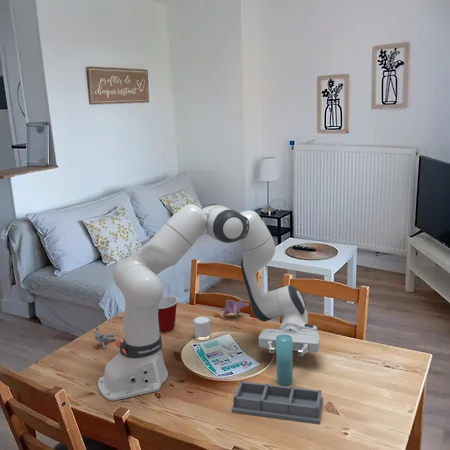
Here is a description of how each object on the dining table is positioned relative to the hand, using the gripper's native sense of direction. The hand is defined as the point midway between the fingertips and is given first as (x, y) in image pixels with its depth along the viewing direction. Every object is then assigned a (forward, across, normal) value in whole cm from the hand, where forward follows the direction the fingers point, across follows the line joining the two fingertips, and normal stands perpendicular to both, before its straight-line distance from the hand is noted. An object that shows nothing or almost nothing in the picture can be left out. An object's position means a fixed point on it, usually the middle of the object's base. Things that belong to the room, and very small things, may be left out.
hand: (285, 352), depth 158 cm
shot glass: (-19, -34, +8) cm, 40 cm away
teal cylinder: (+4, 0, +8) cm, 9 cm away
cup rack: (+17, 0, +8) cm, 19 cm away
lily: (-36, -26, +8) cm, 46 cm away
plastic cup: (-23, -51, +8) cm, 56 cm away
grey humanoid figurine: (-7, -69, +8) cm, 70 cm away
